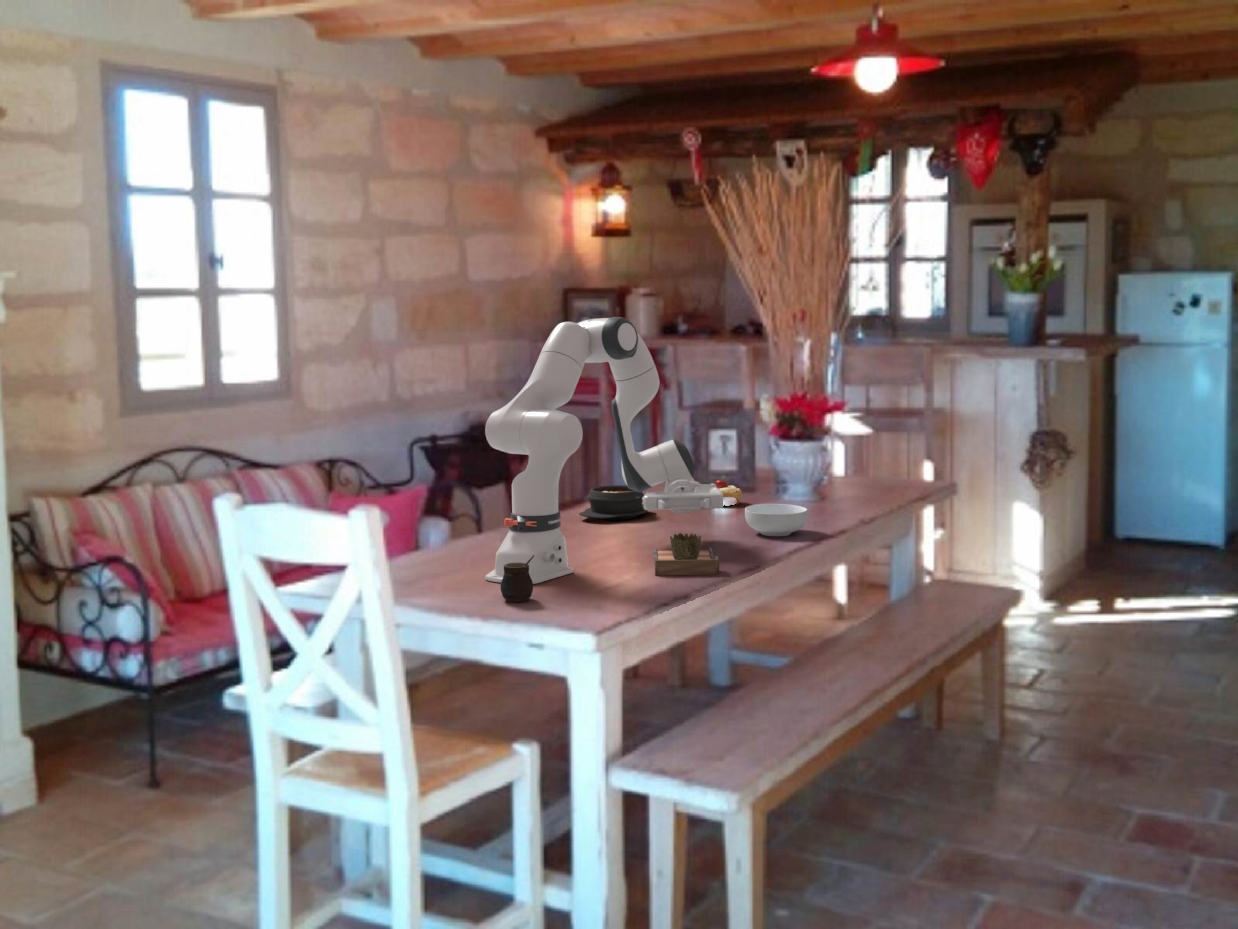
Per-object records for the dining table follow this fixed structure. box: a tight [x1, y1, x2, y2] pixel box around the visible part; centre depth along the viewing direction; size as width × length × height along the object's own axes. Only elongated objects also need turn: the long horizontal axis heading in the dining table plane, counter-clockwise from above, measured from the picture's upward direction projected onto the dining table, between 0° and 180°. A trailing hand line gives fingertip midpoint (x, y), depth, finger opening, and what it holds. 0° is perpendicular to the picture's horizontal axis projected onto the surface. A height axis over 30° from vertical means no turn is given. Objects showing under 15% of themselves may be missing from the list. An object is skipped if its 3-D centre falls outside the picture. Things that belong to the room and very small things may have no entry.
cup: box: [669, 533, 702, 560], centre depth 338 cm, size 8×7×8 cm
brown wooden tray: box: [652, 547, 720, 576], centre depth 347 cm, size 32×15×4 cm, turn 179°
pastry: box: [714, 474, 743, 506], centre depth 430 cm, size 12×12×9 cm
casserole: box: [578, 484, 649, 521], centre depth 411 cm, size 25×19×8 cm
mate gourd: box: [499, 555, 534, 603], centre depth 308 cm, size 7×8×10 cm
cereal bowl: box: [744, 503, 808, 537], centre depth 381 cm, size 17×17×7 cm
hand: (684, 505), depth 349 cm, fingers open, 8 cm apart
